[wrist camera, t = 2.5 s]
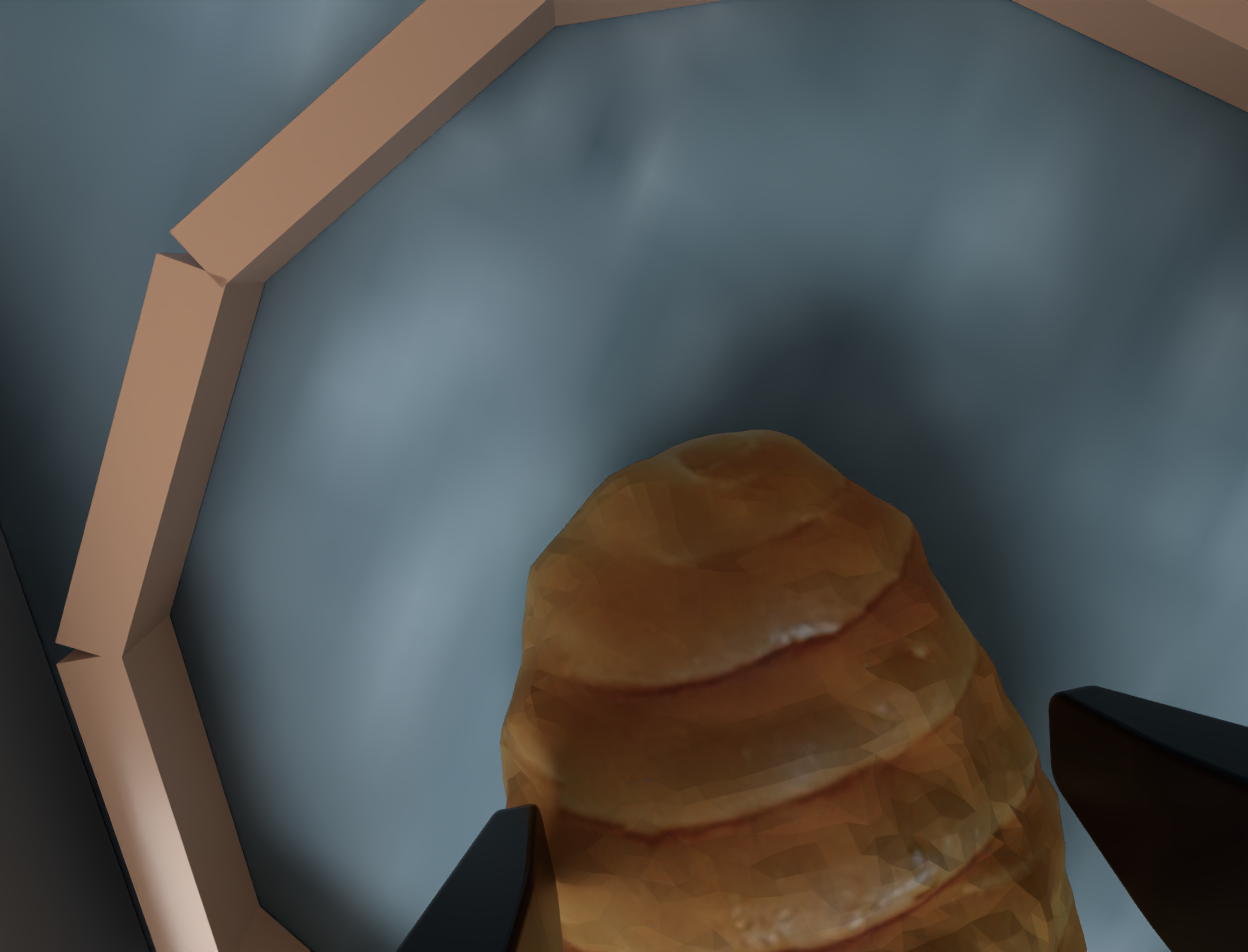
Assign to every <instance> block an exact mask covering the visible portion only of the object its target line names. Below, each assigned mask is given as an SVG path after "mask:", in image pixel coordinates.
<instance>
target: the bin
mask: <svg viewBox="0 0 1248 952" xmlns="http://www.w3.org/2000/svg"><path fill="white" fill-rule="evenodd" d="M0 952H149V949H148V946H147V943H146V940H145V938H144V935H143V932H142V929H141V926H140V923H139V921H138V918H137V915H136V912H135V909H134V906H133V903H132V901H131V898H130V895H129V892H128V889H127V886H126V884H125V881H124V878H123V875H122V872H121V869H120V867H119V864H118V861H117V858H116V855H115V852H114V849H113V847H112V844H111V841H110V838H109V835H108V832H107V830H106V827H105V824H104V821H103V818H102V815H101V812H100V810H99V807H98V804H97V801H96V798H95V795H94V793H93V790H92V787H91V784H90V781H89V778H88V775H87V773H86V770H85V767H84V764H83V761H82V758H81V756H80V753H79V750H78V747H77V744H76V741H75V738H74V736H73V733H72V730H71V727H70V724H69V721H68V719H67V716H66V713H65V710H64V707H63V704H62V701H61V699H60V696H59V693H58V690H57V687H56V684H55V682H54V679H53V676H52V673H51V670H50V667H49V665H48V662H47V659H46V656H45V653H44V650H43V647H42V645H41V642H40V639H39V636H38V633H37V630H36V628H35V625H34V622H33V619H32V616H31V613H30V610H29V608H28V605H27V602H26V599H25V596H24V593H23V591H22V588H21V585H20V582H19V579H18V576H17V573H16V571H15V568H14V565H13V562H12V559H11V556H10V554H9V551H8V548H7V545H6V542H5V539H4V536H3V534H2V531H1V528H0Z"/></svg>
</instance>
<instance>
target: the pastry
mask: <svg viewBox="0 0 1248 952" xmlns="http://www.w3.org/2000/svg"><path fill="white" fill-rule="evenodd" d="M522 645H523V654H522V662H521V667H520V670H519V673H518V677H517V680H516V684H515V688H514V692H513V697H512V700H511V703H510V705H509V708H508V711H507V714H506V716H505V720H504V723H503V727H502V732H501V741H500V747H501V759H502V772H503V782H504V787H505V792H506V798H507V803H506V809H507V808H511V807H516V806H521V805H526V804H535V805H537V806H538V807H539V809H540V812H541V815H542V819H543V824H544V829H545V833H546V838H547V842H548V847H549V852H550V856H551V861H552V865H553V870H554V875H555V880H556V886H557V892H558V900H559V910H560V920H561V929H562V939H563V949H564V952H1086V951H1087V948H1086V944H1085V939H1084V934H1083V931H1082V928H1081V924H1080V921H1079V917H1078V914H1077V911H1076V907H1075V902H1074V897H1073V892H1072V889H1071V886H1070V883H1069V880H1068V877H1067V874H1066V868H1065V842H1064V836H1063V829H1062V823H1061V816H1060V809H1059V802H1058V795H1057V793H1056V791H1055V789H1054V788H1053V786H1052V784H1051V783H1050V781H1049V779H1048V778H1047V776H1046V775H1045V773H1044V772H1043V771H1042V769H1041V766H1040V760H1039V754H1038V750H1037V747H1036V745H1035V743H1034V741H1033V738H1032V736H1031V734H1030V731H1029V729H1028V728H1027V726H1026V725H1025V723H1024V721H1023V720H1022V718H1021V717H1020V715H1019V713H1018V712H1017V710H1016V709H1015V707H1014V706H1013V704H1012V703H1011V701H1010V700H1009V699H1008V697H1007V696H1006V694H1005V693H1004V690H1003V687H1002V684H1001V681H1000V679H999V676H998V673H997V670H996V667H995V665H994V664H993V662H992V660H991V659H990V657H989V656H988V654H987V653H986V651H985V650H984V649H983V648H982V646H981V645H980V644H979V642H978V641H977V640H976V639H975V637H974V636H973V635H972V633H971V632H970V630H969V628H968V627H967V625H966V624H965V622H964V621H963V619H962V618H961V617H960V615H959V614H958V613H957V612H956V610H955V609H954V606H953V604H952V602H951V600H950V599H949V597H948V596H947V594H946V593H945V591H944V590H943V588H942V587H941V585H940V584H939V582H938V581H937V579H936V578H935V576H934V575H933V573H932V571H931V569H930V567H929V564H928V561H927V557H926V554H925V551H924V547H923V544H922V541H921V537H920V535H919V533H918V531H917V530H916V528H915V526H914V525H913V523H912V521H911V520H910V518H909V517H908V516H906V515H905V514H904V513H902V512H901V511H899V510H898V509H897V508H895V507H894V506H892V505H891V504H889V503H887V502H885V501H883V500H881V499H879V498H877V497H875V496H874V495H873V494H871V493H870V492H868V491H867V490H866V489H864V488H863V487H861V486H860V485H858V484H856V483H854V482H853V481H851V480H849V479H847V478H846V477H845V476H844V475H842V474H841V473H840V472H839V471H838V470H837V469H836V468H835V467H834V466H832V465H831V464H830V463H829V462H827V461H826V460H824V459H823V458H822V457H820V456H819V455H818V454H816V453H815V452H814V451H812V450H811V449H809V447H808V446H806V445H805V444H803V443H802V442H800V441H799V440H798V439H797V438H794V437H792V436H789V435H786V434H784V433H781V432H777V431H772V430H767V429H760V430H747V431H741V432H730V433H718V434H712V435H707V436H703V437H699V438H695V439H691V440H688V441H686V442H683V443H680V444H678V445H675V446H672V447H670V448H668V449H667V450H665V451H663V452H661V453H659V454H657V455H655V456H654V457H652V458H648V459H645V460H642V461H638V462H636V463H634V464H632V465H630V466H628V467H626V468H624V469H622V470H620V471H618V472H616V473H614V474H612V475H610V476H608V478H607V479H606V480H605V481H604V482H603V483H602V484H601V485H600V486H599V487H598V488H597V489H596V490H595V491H594V492H593V493H592V494H591V496H590V497H589V498H588V499H587V500H586V502H585V503H584V504H583V505H582V506H581V507H580V509H579V510H578V511H577V512H576V514H575V515H574V516H573V517H572V519H571V520H570V521H569V522H568V524H567V525H566V526H565V527H564V528H563V530H562V531H561V532H560V533H559V534H558V535H557V536H556V537H555V538H554V539H553V541H552V542H551V543H550V544H549V545H548V546H547V547H546V549H545V550H544V551H543V552H542V553H541V555H540V556H539V557H538V558H537V560H536V561H535V562H534V563H533V565H532V566H531V567H530V572H529V577H528V582H527V594H526V606H525V614H524V621H523V628H522Z"/></svg>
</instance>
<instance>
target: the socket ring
mask: <svg viewBox="0 0 1248 952" xmlns="http://www.w3.org/2000/svg"><path fill="white" fill-rule="evenodd" d="M715 1H721V0H426V1H425V2H424V3H422V4H421V5H420V6H419V7H418V8H417V9H416V10H415V11H414V12H412V13H411V14H410V15H409V16H408V17H407V18H406V19H405V20H404V21H403V22H401V23H400V24H399V25H398V26H397V27H396V28H395V29H394V30H393V31H391V32H390V33H389V34H388V35H387V36H386V37H385V38H384V39H383V40H381V41H380V42H379V43H378V44H377V45H376V46H375V47H374V48H373V49H371V50H370V51H369V52H368V53H367V54H366V55H365V56H364V57H363V58H361V59H360V60H359V61H358V62H357V63H356V64H355V65H354V66H353V67H352V68H350V69H349V70H348V71H347V72H346V73H345V74H344V75H343V76H342V77H340V78H339V79H338V80H337V81H336V82H335V83H334V84H333V85H332V86H330V87H329V88H328V89H327V90H326V91H325V92H324V93H323V94H322V95H320V96H319V97H318V98H317V99H316V100H315V101H314V102H313V103H312V104H310V105H309V106H308V107H307V108H306V109H305V110H304V111H303V112H302V113H301V114H299V115H298V116H297V117H296V118H295V119H294V120H293V121H292V122H291V123H289V124H288V125H287V126H286V127H285V128H284V129H283V130H282V131H281V132H279V133H278V134H277V135H276V136H275V137H274V138H273V139H272V140H271V141H269V142H268V143H267V144H266V145H265V146H264V147H263V148H262V149H261V150H259V151H258V152H257V153H256V154H255V155H254V156H253V157H252V158H251V159H249V160H248V161H247V162H246V163H245V164H244V165H243V166H242V167H241V168H240V169H238V170H237V171H236V172H235V173H234V174H233V175H232V176H231V177H230V178H228V179H227V180H226V181H225V182H224V183H223V184H222V185H221V186H220V187H218V188H217V189H216V190H215V191H214V192H213V193H212V194H211V195H210V196H208V197H207V198H206V199H205V200H204V201H203V202H202V203H201V204H200V205H198V206H197V207H196V208H195V209H194V210H193V211H192V212H191V213H190V214H189V215H187V216H186V217H185V218H184V219H183V220H182V221H181V222H180V223H179V224H177V225H176V226H175V227H174V228H173V229H172V230H171V231H170V233H171V234H172V235H173V236H174V237H175V238H176V239H177V240H178V242H179V243H180V244H181V245H182V246H183V247H184V248H185V249H186V250H187V251H188V252H189V253H190V254H175V253H156V257H155V261H154V265H153V269H152V273H151V276H150V280H149V284H148V288H147V292H146V296H145V299H144V303H143V307H142V311H141V315H140V319H139V322H138V326H137V330H136V334H135V338H134V342H133V346H132V349H131V353H130V357H129V361H128V365H127V369H126V372H125V376H124V380H123V384H122V388H121V392H120V396H119V399H118V403H117V407H116V411H115V415H114V419H113V422H112V426H111V430H110V434H109V438H108V442H107V446H106V449H105V453H104V457H103V461H102V465H101V469H100V472H99V476H98V480H97V484H96V488H95V492H94V495H93V499H92V503H91V507H90V511H89V515H88V519H87V522H86V526H85V530H84V534H83V538H82V542H81V545H80V549H79V553H78V557H77V561H76V565H75V569H74V572H73V576H72V580H71V584H70V588H69V592H68V595H67V599H66V603H65V607H64V611H63V615H62V619H61V622H60V626H59V630H58V634H57V638H56V642H55V643H58V644H61V645H65V646H68V647H71V648H75V650H73V651H72V652H71V653H70V654H68V655H67V656H66V657H65V658H63V659H62V660H61V661H59V662H58V663H57V664H56V665H57V668H58V671H59V674H60V677H61V679H62V682H63V685H64V688H65V691H66V694H67V697H68V699H69V702H70V705H71V708H72V711H73V714H74V717H75V720H76V722H77V725H78V728H79V731H80V734H81V737H82V740H83V742H84V745H85V748H86V751H87V754H88V757H89V760H90V762H91V765H92V768H93V771H94V774H95V777H96V780H97V783H98V785H99V788H100V791H101V794H102V797H103V800H104V803H105V805H106V808H107V811H108V814H109V817H110V820H111V823H112V826H113V828H114V831H115V834H116V837H117V840H118V843H119V846H120V848H121V851H122V854H123V857H124V860H125V863H126V866H127V868H128V871H129V874H130V877H131V880H132V883H133V886H134V889H135V891H136V894H137V897H138V900H139V903H140V906H141V909H142V911H143V914H144V917H145V920H146V923H147V926H148V929H149V932H150V934H151V937H152V940H153V943H154V946H155V949H156V952H311V951H310V950H309V949H308V948H307V947H305V946H304V945H303V944H302V943H301V942H300V941H299V940H297V939H296V938H295V937H294V936H293V935H292V934H291V933H289V932H288V931H287V930H286V929H285V928H284V927H283V926H282V925H280V924H279V923H278V922H277V921H276V920H275V919H274V918H272V917H271V916H270V915H269V914H268V913H267V912H266V911H264V910H263V909H262V908H261V907H260V906H259V903H258V900H257V896H256V893H255V890H254V887H253V884H252V880H251V877H250V874H249V871H248V867H247V864H246V861H245V858H244V854H243V851H242V848H241V845H240V842H239V838H238V835H237V832H236V829H235V825H234V822H233V819H232V816H231V812H230V809H229V806H228V803H227V800H226V796H225V793H224V790H223V787H222V783H221V780H220V777H219V774H218V770H217V767H216V764H215V761H214V758H213V754H212V751H211V748H210V745H209V741H208V738H207V735H206V732H205V728H204V725H203V722H202V719H201V716H200V712H199V709H198V706H197V703H196V699H195V696H194V693H193V690H192V686H191V683H190V680H189V677H188V674H187V670H186V667H185V664H184V661H183V657H182V654H181V651H180V648H179V644H178V641H177V638H176V635H175V631H174V628H173V625H172V622H171V619H170V611H171V608H172V605H173V601H174V598H175V594H176V591H177V587H178V584H179V580H180V577H181V573H182V570H183V566H184V563H185V559H186V556H187V552H188V549H189V545H190V542H191V538H192V535H193V532H194V528H195V525H196V521H197V518H198V514H199V511H200V507H201V504H202V500H203V497H204V493H205V490H206V486H207V483H208V479H209V476H210V472H211V469H212V465H213V462H214V458H215V455H216V452H217V448H218V445H219V441H220V438H221V434H222V431H223V427H224V424H225V420H226V417H227V413H228V410H229V406H230V403H231V399H232V396H233V392H234V389H235V385H236V382H237V379H238V375H239V372H240V368H241V365H242V361H243V358H244V354H245V351H246V347H247V344H248V340H249V337H250V333H251V330H252V326H253V323H254V319H255V316H256V312H257V309H258V305H259V302H260V299H261V295H262V292H263V288H264V285H265V282H266V281H267V280H268V279H269V278H270V277H271V276H273V275H274V274H275V273H276V272H277V271H278V270H279V269H280V268H282V267H283V266H284V265H285V264H286V263H287V262H288V261H290V260H291V259H292V258H293V257H294V256H295V255H296V254H297V253H299V252H300V251H301V250H302V249H303V248H304V247H305V246H307V245H308V244H309V243H310V242H311V241H312V240H313V239H315V238H316V237H317V236H318V235H319V234H320V233H321V232H322V231H324V230H325V229H326V228H327V227H328V226H329V225H330V224H332V223H333V222H334V221H335V220H336V219H337V218H338V217H339V216H341V215H342V214H343V213H344V212H345V211H346V210H347V209H349V208H350V207H351V206H352V205H353V204H354V203H355V202H357V201H358V200H359V199H360V198H361V197H362V196H363V195H364V194H366V193H367V192H368V191H369V190H370V189H371V188H372V187H374V186H375V185H376V184H377V183H378V182H379V181H380V180H382V179H383V178H384V177H385V176H386V175H387V174H388V173H389V172H391V171H392V170H393V169H394V168H395V167H396V166H397V165H399V164H400V163H401V162H402V161H403V160H404V159H405V158H406V157H408V156H409V155H410V154H411V153H412V152H413V151H414V150H416V149H417V148H418V147H419V146H420V145H421V144H422V143H424V142H425V141H426V140H427V139H428V138H429V137H430V136H431V135H433V134H434V133H435V132H436V131H437V130H438V129H439V128H441V127H442V126H443V125H444V124H445V123H446V122H447V121H448V120H450V119H451V118H452V117H453V116H454V115H455V114H456V113H458V112H459V111H460V110H461V109H462V108H463V107H464V106H466V105H467V104H468V103H469V102H470V101H471V100H472V99H473V98H475V97H476V96H477V95H478V94H479V93H480V92H481V91H483V90H484V89H485V88H486V87H487V86H488V85H489V84H490V83H492V82H493V81H494V80H495V79H496V78H497V77H498V76H500V75H501V74H502V73H503V72H504V71H505V70H506V69H508V68H509V67H510V66H511V65H512V64H513V63H514V62H515V61H517V60H518V59H519V58H520V57H521V56H522V55H523V54H525V53H526V52H527V51H528V50H529V49H530V48H531V47H532V46H534V45H535V44H536V43H537V42H538V41H539V40H540V39H542V38H543V37H544V36H545V35H546V34H547V33H548V32H550V31H551V30H552V29H553V28H554V27H555V26H562V25H568V24H575V23H581V22H587V21H594V20H600V19H606V18H613V17H619V16H626V15H632V14H638V13H645V12H651V11H657V10H664V9H670V8H676V7H683V6H689V5H696V4H702V3H708V2H715ZM1012 1H1014V2H1016V3H1019V4H1021V5H1023V6H1025V7H1027V8H1029V9H1031V10H1033V11H1035V12H1038V13H1040V14H1042V15H1044V16H1046V17H1048V18H1050V19H1052V20H1054V21H1056V22H1059V23H1061V24H1063V25H1065V26H1067V27H1069V28H1071V29H1073V30H1075V31H1078V32H1080V33H1082V34H1084V35H1086V36H1088V37H1090V38H1092V39H1094V40H1097V41H1099V42H1101V43H1103V44H1105V45H1107V46H1109V47H1111V48H1113V49H1116V50H1118V51H1120V52H1122V53H1124V54H1126V55H1128V56H1130V57H1132V58H1135V59H1137V60H1139V61H1141V62H1143V63H1145V64H1147V65H1149V66H1151V67H1154V68H1156V69H1158V70H1160V71H1162V72H1164V73H1166V74H1168V75H1170V76H1173V77H1175V78H1177V79H1179V80H1181V81H1183V82H1185V83H1187V84H1189V85H1192V86H1194V87H1196V88H1198V89H1200V90H1202V91H1204V92H1206V93H1208V94H1211V95H1213V96H1215V97H1217V98H1219V99H1221V100H1223V101H1225V102H1227V103H1229V104H1232V105H1234V106H1236V107H1238V108H1240V109H1242V110H1244V111H1246V112H1248V0H1012Z"/></svg>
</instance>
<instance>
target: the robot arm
mask: <svg viewBox="0 0 1248 952" xmlns="http://www.w3.org/2000/svg"><path fill="white" fill-rule="evenodd" d="M1049 731H1050V754H1051V768H1052V773H1053V776H1054V779H1055V782H1056V784H1057V786H1058V788H1059V790H1060V792H1061V794H1062V795H1063V797H1064V798H1065V800H1066V801H1067V803H1068V804H1069V806H1070V807H1071V808H1072V810H1073V811H1074V813H1075V814H1076V816H1077V817H1078V819H1079V820H1080V822H1081V823H1082V825H1083V826H1084V828H1085V829H1086V831H1087V832H1088V834H1089V835H1090V837H1091V838H1092V840H1093V841H1094V843H1095V844H1096V846H1097V847H1098V849H1099V850H1100V852H1101V853H1102V855H1103V856H1104V858H1105V859H1106V861H1107V862H1108V864H1109V865H1110V867H1111V868H1112V870H1113V871H1114V873H1115V874H1116V875H1117V877H1118V878H1119V880H1120V881H1121V883H1122V884H1123V886H1124V887H1125V889H1126V890H1127V892H1128V893H1129V895H1130V896H1131V898H1132V899H1133V901H1134V902H1135V904H1136V905H1137V907H1138V908H1139V909H1140V911H1141V912H1142V914H1143V915H1144V916H1145V918H1146V919H1147V921H1148V922H1149V923H1150V925H1151V926H1152V928H1153V929H1154V930H1155V931H1156V933H1157V934H1158V935H1159V936H1160V938H1161V939H1162V940H1163V942H1164V943H1165V944H1166V945H1167V947H1168V948H1169V949H1170V950H1171V952H1248V727H1246V726H1243V725H1239V724H1235V723H1232V722H1228V721H1224V720H1220V719H1217V718H1213V717H1209V716H1206V715H1202V714H1198V713H1195V712H1191V711H1187V710H1183V709H1180V708H1176V707H1172V706H1169V705H1165V704H1161V703H1158V702H1154V701H1150V700H1146V699H1143V698H1139V697H1135V696H1132V695H1128V694H1124V693H1121V692H1117V691H1113V690H1109V689H1106V688H1102V687H1098V686H1084V687H1079V688H1075V689H1070V690H1066V691H1061V692H1057V693H1055V694H1054V696H1053V697H1052V698H1051V699H1050V703H1049ZM396 952H564V949H563V939H562V929H561V920H560V910H559V900H558V892H557V886H556V880H555V875H554V870H553V865H552V861H551V856H550V852H549V847H548V842H547V838H546V833H545V829H544V824H543V819H542V815H541V812H540V809H539V807H538V806H537V805H535V804H526V805H521V806H516V807H511V808H507V809H502V810H499V811H497V812H495V813H494V814H493V815H492V817H491V818H490V819H489V821H488V822H487V824H486V825H485V827H484V828H483V829H482V831H481V832H480V834H479V835H478V836H477V838H476V839H475V841H474V842H473V843H472V845H471V846H470V848H469V849H468V851H467V852H466V853H465V855H464V856H463V858H462V859H461V860H460V862H459V863H458V865H457V866H456V867H455V869H454V870H453V872H452V873H451V874H450V876H449V877H448V879H447V880H446V882H445V883H444V884H443V886H442V887H441V889H440V890H439V891H438V893H437V894H436V896H435V897H434V898H433V900H432V901H431V903H430V904H429V906H428V907H427V908H426V910H425V911H424V913H423V914H422V915H421V917H420V918H419V920H418V921H417V922H416V924H415V925H414V927H413V928H412V930H411V931H410V932H409V934H408V935H407V937H406V938H405V939H404V941H403V942H402V944H401V945H400V946H399V948H398V949H397V951H396Z"/></svg>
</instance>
